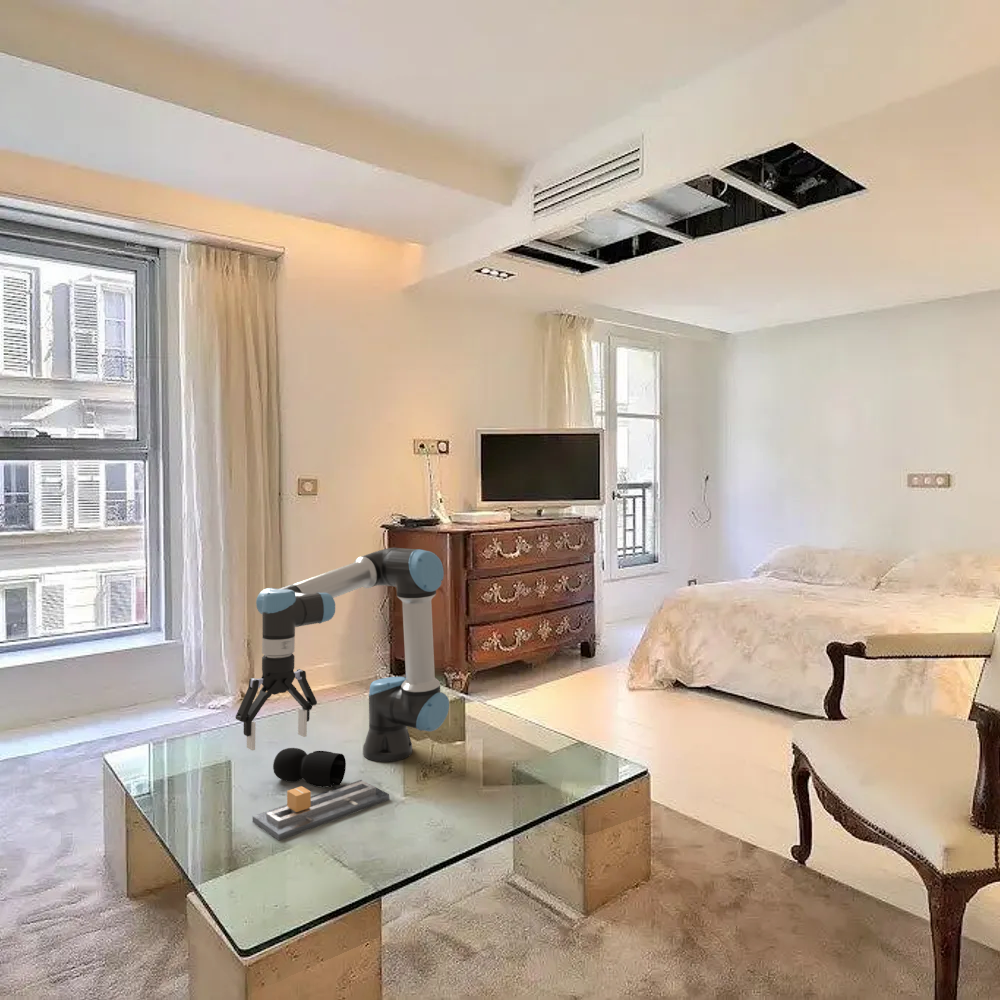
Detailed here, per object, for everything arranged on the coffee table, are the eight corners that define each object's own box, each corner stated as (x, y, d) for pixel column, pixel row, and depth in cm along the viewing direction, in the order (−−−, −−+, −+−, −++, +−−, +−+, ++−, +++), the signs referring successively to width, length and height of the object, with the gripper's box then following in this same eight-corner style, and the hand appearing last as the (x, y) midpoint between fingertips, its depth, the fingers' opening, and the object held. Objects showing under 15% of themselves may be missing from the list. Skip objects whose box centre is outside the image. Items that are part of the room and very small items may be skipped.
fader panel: (278, 840, 173) (278, 828, 173) (252, 822, 182) (252, 810, 182) (389, 799, 195) (389, 789, 195) (360, 785, 204) (360, 775, 204)
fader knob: (296, 817, 181) (296, 795, 180) (287, 811, 184) (287, 790, 184) (310, 812, 183) (310, 791, 183) (301, 806, 186) (301, 785, 186)
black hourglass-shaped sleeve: (351, 756, 209) (289, 748, 215) (337, 750, 201) (273, 742, 207) (343, 791, 205) (280, 782, 211) (329, 787, 197) (264, 778, 203)
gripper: (236, 665, 166) (235, 759, 166) (331, 649, 184) (330, 733, 184) (221, 659, 171) (220, 750, 171) (315, 644, 189) (314, 726, 189)
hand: (277, 741), depth 178 cm, fingers open, 13 cm apart
